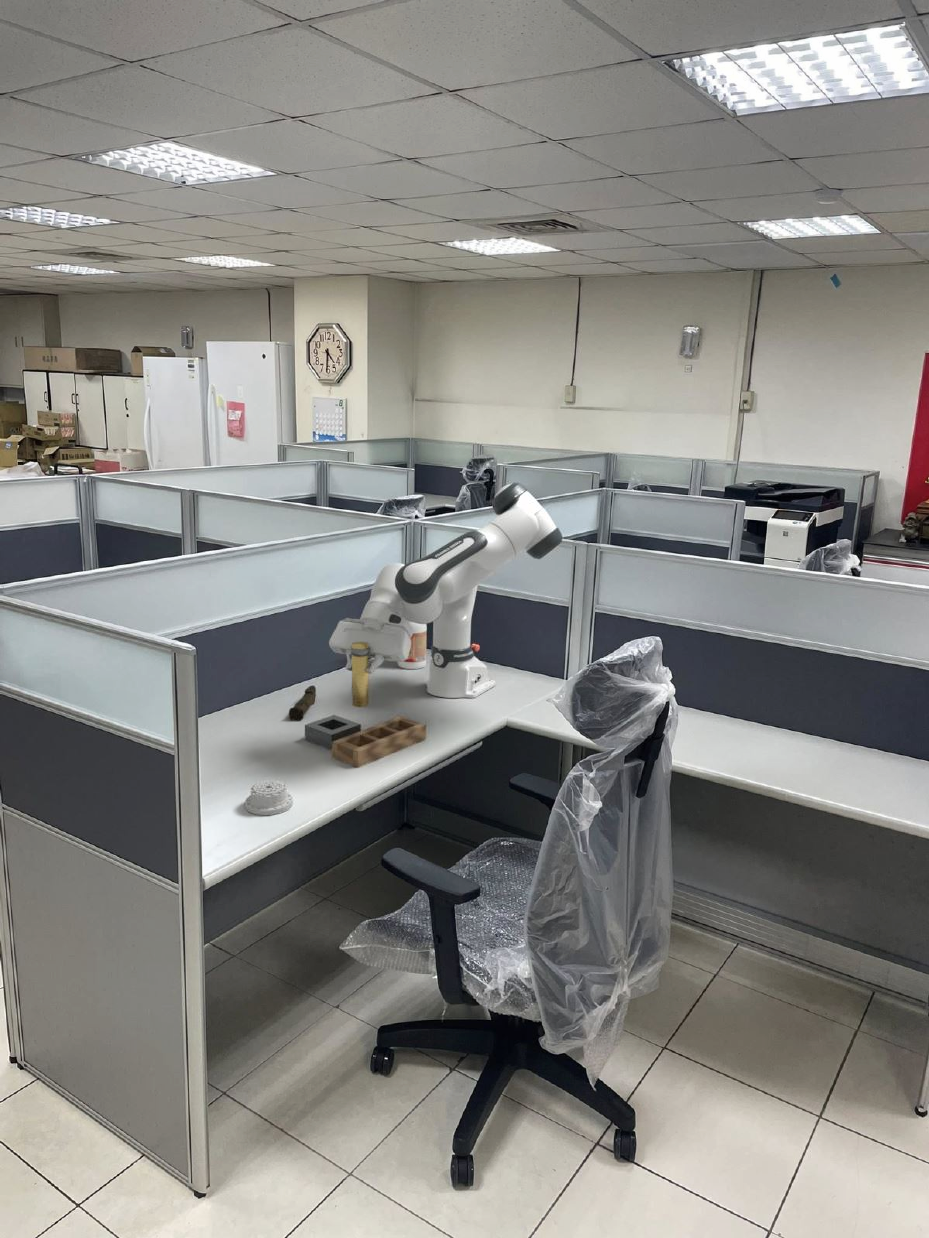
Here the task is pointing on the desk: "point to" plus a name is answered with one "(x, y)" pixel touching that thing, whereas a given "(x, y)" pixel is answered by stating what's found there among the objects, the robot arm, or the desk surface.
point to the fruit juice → (416, 647)
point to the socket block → (330, 730)
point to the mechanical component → (268, 798)
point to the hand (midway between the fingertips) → (359, 671)
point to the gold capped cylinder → (360, 673)
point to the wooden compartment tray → (378, 741)
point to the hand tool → (303, 704)
